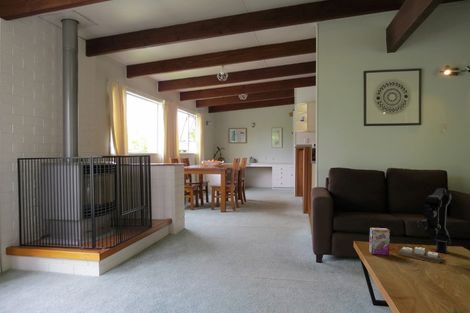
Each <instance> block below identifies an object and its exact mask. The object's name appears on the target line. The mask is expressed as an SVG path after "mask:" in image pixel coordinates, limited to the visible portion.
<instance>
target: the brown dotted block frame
mask: <svg viewBox="0 0 470 313" xmlns="http://www.w3.org/2000/svg"><path fill="white" fill-rule="evenodd" d="M402 248H403V247H401V248H400V250H399V251H398V256H400V257H401V256H402V257H406V258H411V259H416V260H421V261H425V262H430V263H431V262H432V263H435V264H440V263H441V261H442V257H443V255H442V254H438V258H434V257H429V256H427V253H428V251H425V254H424V255H421V254H416V253H414V250H415V249H412V253H409V252H404V251H402Z"/></svg>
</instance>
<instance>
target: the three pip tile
mask: <svg viewBox="0 0 470 313" xmlns="http://www.w3.org/2000/svg"><path fill="white" fill-rule="evenodd" d="M401 248H402V251H404V252H409V253H412V250H413V247H412V248H411V247H407V246H403V247H401Z"/></svg>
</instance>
